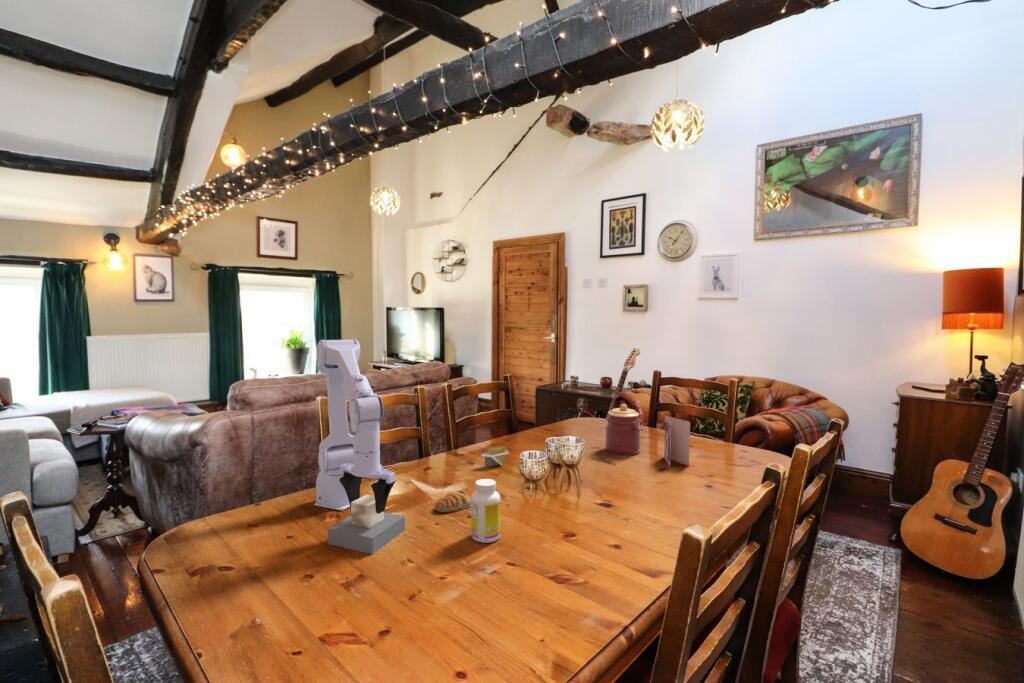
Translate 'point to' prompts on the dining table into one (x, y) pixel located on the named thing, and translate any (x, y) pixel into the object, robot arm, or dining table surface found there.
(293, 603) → the dining table surface
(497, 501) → the supplement bottle
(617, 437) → the canister
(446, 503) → the pastry
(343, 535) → the gray panel
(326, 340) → the robot arm
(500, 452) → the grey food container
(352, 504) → the cream block
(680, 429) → the greeting card
